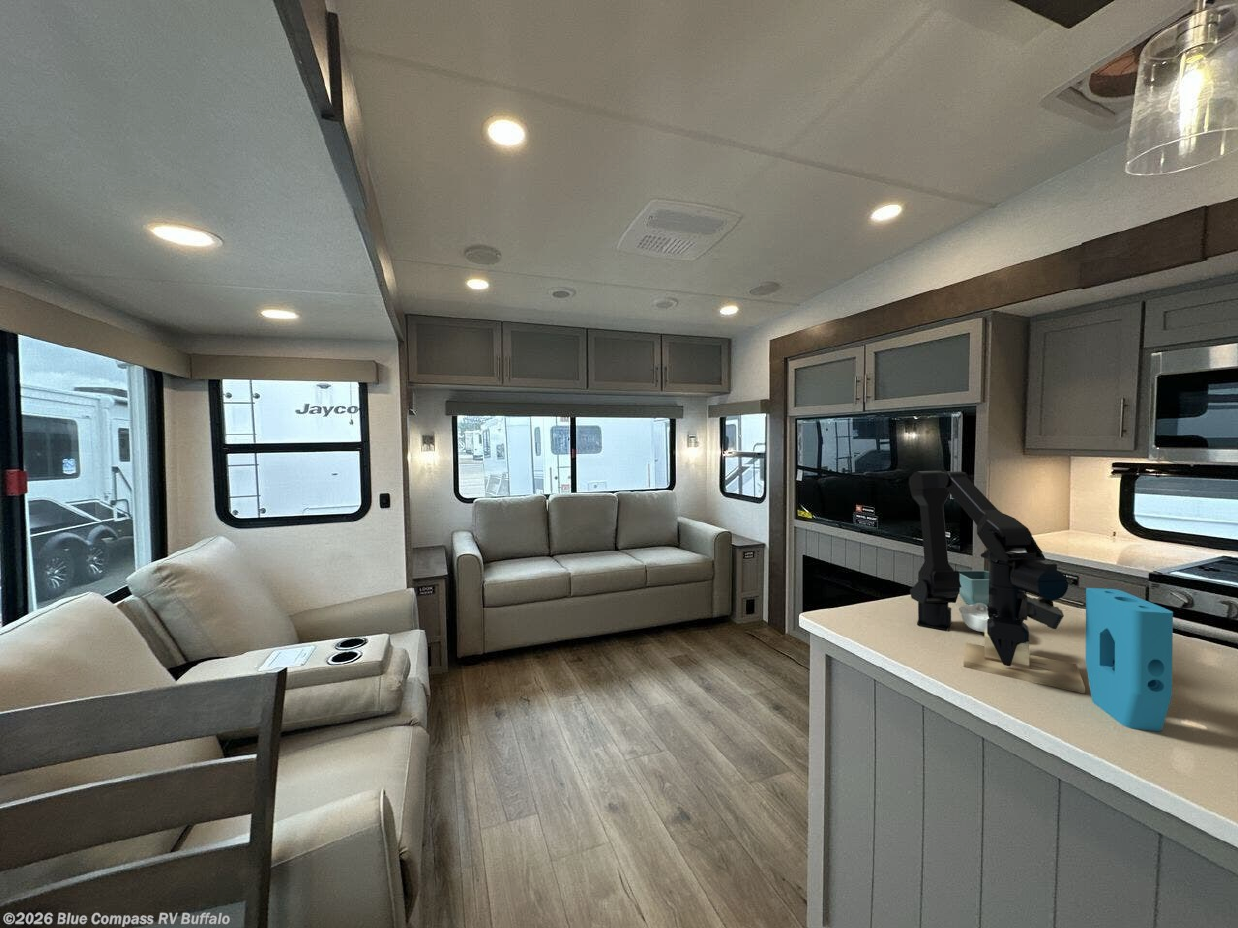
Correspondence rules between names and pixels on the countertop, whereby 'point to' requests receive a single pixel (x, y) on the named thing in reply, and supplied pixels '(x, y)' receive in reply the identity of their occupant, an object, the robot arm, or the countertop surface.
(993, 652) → the block
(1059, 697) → the countertop surface
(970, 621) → the cell model
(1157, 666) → the block
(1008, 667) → the board
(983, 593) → the flower pot
